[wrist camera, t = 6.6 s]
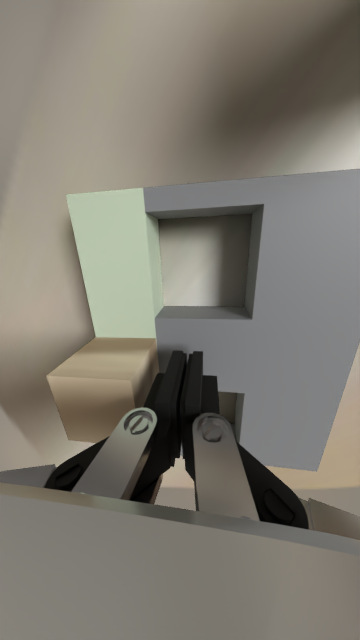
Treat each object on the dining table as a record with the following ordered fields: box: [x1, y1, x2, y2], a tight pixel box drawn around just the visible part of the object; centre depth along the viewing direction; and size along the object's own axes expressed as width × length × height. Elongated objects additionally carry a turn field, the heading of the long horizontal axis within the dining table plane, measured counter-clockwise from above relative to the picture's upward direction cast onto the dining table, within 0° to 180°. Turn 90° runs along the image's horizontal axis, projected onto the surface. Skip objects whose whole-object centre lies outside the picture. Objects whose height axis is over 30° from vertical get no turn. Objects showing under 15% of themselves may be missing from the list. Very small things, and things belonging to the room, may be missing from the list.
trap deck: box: [66, 169, 360, 472], centre depth 13 cm, size 18×15×2 cm
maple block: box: [46, 337, 159, 443], centre depth 11 cm, size 4×4×4 cm
